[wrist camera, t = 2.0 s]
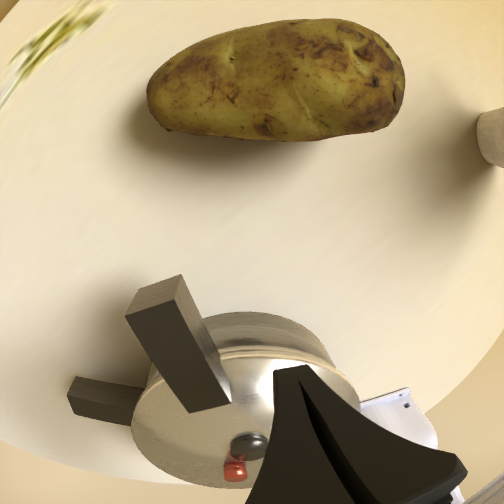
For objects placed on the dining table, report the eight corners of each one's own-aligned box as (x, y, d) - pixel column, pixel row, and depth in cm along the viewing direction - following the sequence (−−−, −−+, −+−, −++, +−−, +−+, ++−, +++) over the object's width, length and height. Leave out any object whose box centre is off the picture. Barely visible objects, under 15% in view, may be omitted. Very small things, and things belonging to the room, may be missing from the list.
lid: (362, 447, 21) (372, 467, 18) (196, 491, 21) (196, 512, 18) (321, 224, 14) (344, 238, 11) (45, 323, 14) (24, 347, 11)
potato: (183, 21, 14) (168, -48, 6) (362, 71, 16) (432, 38, 9) (147, 131, 16) (100, 112, 9) (338, 177, 19) (409, 190, 11)
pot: (352, 311, 22) (381, 346, 17) (308, 436, 27) (320, 470, 22) (68, 293, 19) (38, 325, 14) (103, 427, 23) (92, 462, 19)
